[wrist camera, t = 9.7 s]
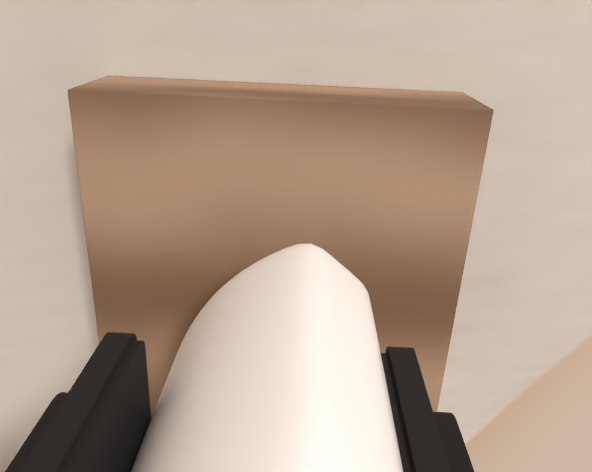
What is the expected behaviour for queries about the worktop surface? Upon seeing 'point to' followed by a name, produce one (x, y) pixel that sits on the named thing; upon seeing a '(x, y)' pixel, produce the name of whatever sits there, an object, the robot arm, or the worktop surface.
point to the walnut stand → (275, 200)
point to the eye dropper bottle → (277, 377)
